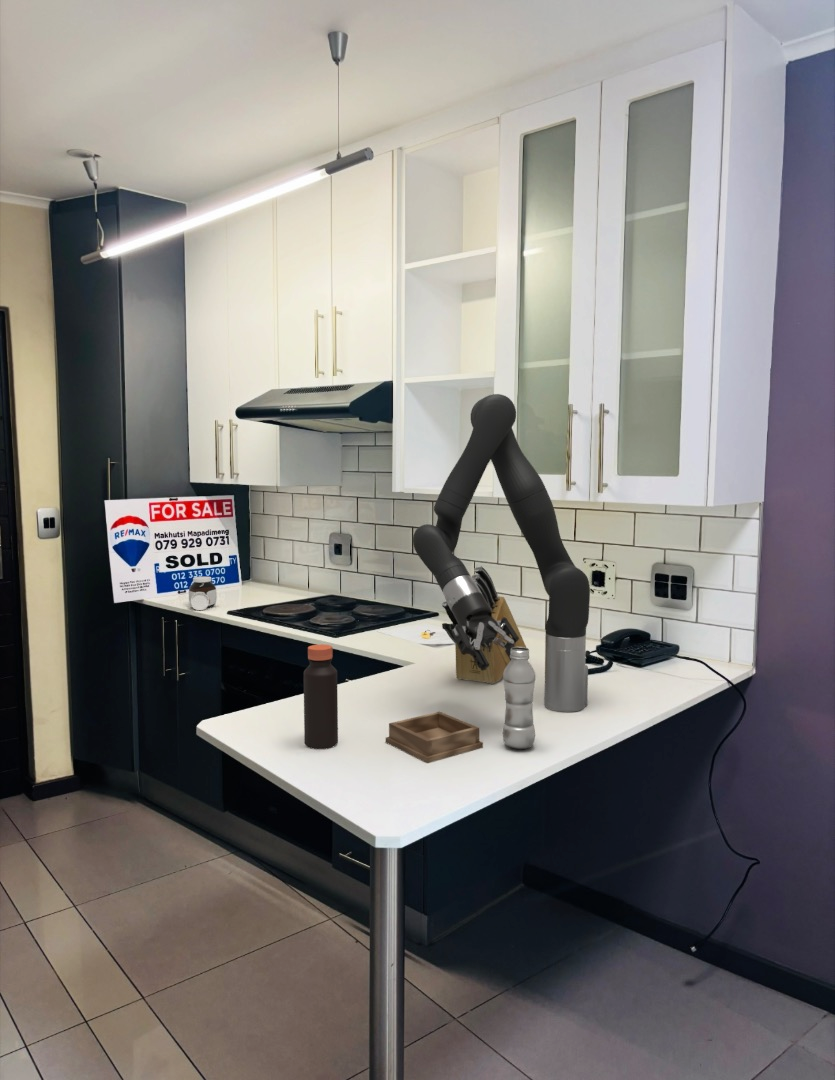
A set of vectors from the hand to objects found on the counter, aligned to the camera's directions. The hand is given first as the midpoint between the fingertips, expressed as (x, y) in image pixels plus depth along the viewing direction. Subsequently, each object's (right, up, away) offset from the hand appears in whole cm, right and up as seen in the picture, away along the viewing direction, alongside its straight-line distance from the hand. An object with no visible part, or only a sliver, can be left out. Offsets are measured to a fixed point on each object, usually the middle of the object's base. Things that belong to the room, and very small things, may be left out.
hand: (501, 665), depth 164 cm
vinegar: (-37, -16, -1) cm, 40 cm away
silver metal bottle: (+3, -16, -2) cm, 17 cm away
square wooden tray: (-14, -16, -1) cm, 21 cm away
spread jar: (-100, -1, +148) cm, 179 cm away
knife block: (+1, -11, +51) cm, 52 cm away
